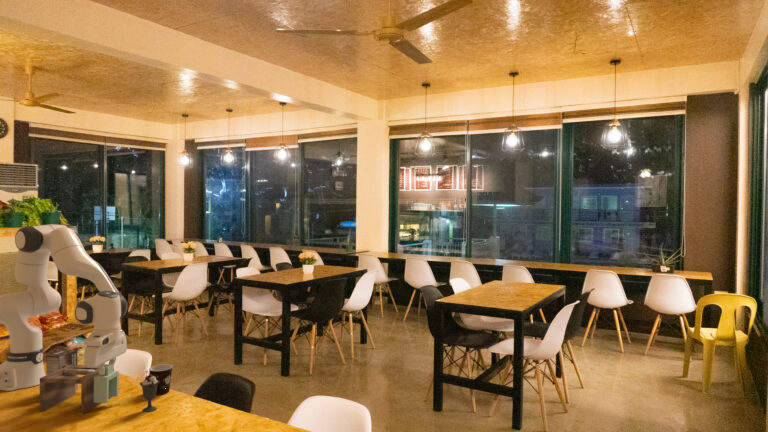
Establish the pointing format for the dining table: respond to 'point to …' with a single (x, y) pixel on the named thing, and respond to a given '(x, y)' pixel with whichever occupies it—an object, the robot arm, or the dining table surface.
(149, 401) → the sundae
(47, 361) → the coffee box
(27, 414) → the dining table surface
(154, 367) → the coffee mug
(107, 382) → the green u-channel bracket
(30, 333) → the robot arm
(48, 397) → the wooden frame with rod
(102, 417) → the dining table surface
